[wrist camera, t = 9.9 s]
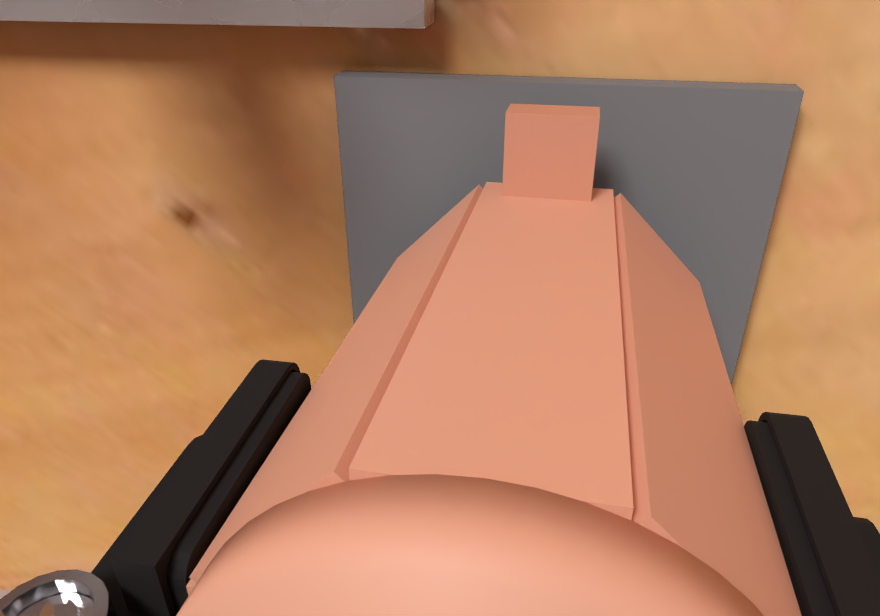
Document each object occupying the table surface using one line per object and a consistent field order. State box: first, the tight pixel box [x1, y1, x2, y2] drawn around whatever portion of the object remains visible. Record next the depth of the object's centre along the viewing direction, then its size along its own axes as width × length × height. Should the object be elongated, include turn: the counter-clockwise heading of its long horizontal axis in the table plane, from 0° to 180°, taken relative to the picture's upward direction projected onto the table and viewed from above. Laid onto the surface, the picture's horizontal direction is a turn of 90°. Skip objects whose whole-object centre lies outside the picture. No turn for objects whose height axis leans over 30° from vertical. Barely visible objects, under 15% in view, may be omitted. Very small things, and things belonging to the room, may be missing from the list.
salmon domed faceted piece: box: [176, 104, 802, 616], centre depth 10 cm, size 9×6×10 cm
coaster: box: [334, 71, 804, 383], centre depth 16 cm, size 9×9×1 cm
